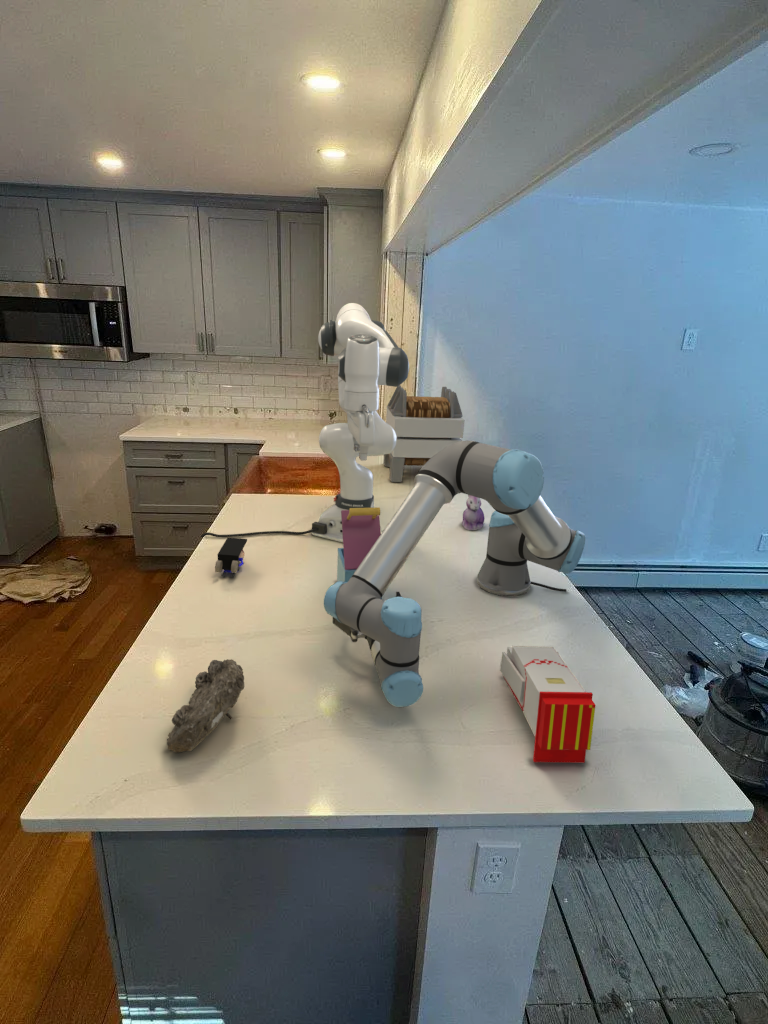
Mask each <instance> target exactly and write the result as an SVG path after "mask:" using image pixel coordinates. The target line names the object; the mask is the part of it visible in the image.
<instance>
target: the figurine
mask: <svg viewBox="0 0 768 1024" xmlns="http://www.w3.org/2000/svg"><path fill="white" fill-rule="evenodd" d="M481 500H482V499H481V498H478V497H474V496H471V495H468V494H467V499H466V502H465V504H466V509H465V510H463V513H462V521H461V526H462V527H463V528H464V529H465V530H469V531H476V530H480V529H482V528H483V527H484V524H485V513H484V511H483V509H482V501H481Z"/></svg>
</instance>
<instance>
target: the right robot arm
mask: <svg viewBox="0 0 768 1024" xmlns="http://www.w3.org/2000/svg"><path fill="white" fill-rule="evenodd" d="M544 472H545V471H544V467H543V465H542V462H541V460H540V459H539V458H538V456H535V455H534V454H532V453H529V452H527V451H524V450H521V449H511V448H506V447H501V446H498V445H492V444H488V443H483V442H479V441H475V440H462V441H460V442H457V443H454V444H451V445H449V446H447V447H445V448H444V449H442V450H441V451H439V452H438V453H436V454H435V455H434V456H433V457H432V458H431V459H429V460H428V461H427V462H426V463H425V464H424V465H423V466H421V468H420V469H419V470H418V472H417V473H416V475H415V476H414V479H413V482H414V486H413V487H412V489H411V490H410V492H409V493H408V494H407V496H406V498H404V500H403V502H402V503H401V504H400V505H399V507H398V509H397V510H396V512H395V513H394V515H393V516H392V518H391V519H390V520H389V522H388V523H387V525H386V526H385V527H384V529H383V531H381V535H380V536H379V538H378V539H377V541H376V542H375V544H374V545H373V547H372V548H371V549H370V551H369V552H368V554H367V555H366V557H365V558H364V560H363V561H362V562H361V564H360V565H359V567H358V568H357V570H356V571H355V573H354V574H353V575H352V577H351V578H350V579H349V581H348V582H343V581H338V582H337V581H335V582H334V583H333V584H332V585H330V586H329V587H328V588H327V590H326V592H325V594H324V597H323V608H324V611H325V612H326V614H328V615H329V616H330V617H331V618H332V624H333V625H334V626H336V627H337V628H338V629H340V630H341V631H342V632H343V633H344V634H346V635H347V636H348V637H350V640H351V642H353V643H357V642H358V640H359V639H365V640H366V641H367V644H368V646H369V648H368V649H369V651H370V654H371V657H372V660H373V663H374V664H373V665H374V666H375V669H376V672H377V677H378V680H379V683H380V688H381V689H380V690H381V691H382V692H383V695H384V697H385V699H386V701H387V702H388V703H389V704H390V705H392V706H393V707H396V708H405V707H406V708H407V707H410V706H413V705H414V704H415V703H417V702H419V700H420V698H421V697H422V696H423V693H424V683H423V678H422V676H421V675H420V671H419V670H420V669H419V668H420V649H421V638H422V636H421V635H422V631H423V630H422V629H423V623H422V607H421V605H420V604H419V603H418V601H416V600H415V599H413V598H410V597H403V596H402V595H401V593H400V591H396V592H395V596H393V597H389V598H387V599H386V600H383V596H384V594H385V593H386V591H388V588H389V587H390V586H391V584H392V582H393V581H394V579H395V578H396V577H397V575H398V574H399V572H400V570H401V569H402V567H403V566H404V564H405V563H406V562H407V560H408V558H409V557H410V556H411V554H412V552H413V551H414V549H415V548H416V546H417V545H418V544H419V542H420V541H421V539H422V537H423V536H424V535H425V533H426V532H427V530H428V528H429V527H430V525H431V524H432V522H433V521H434V519H435V518H436V517H437V515H438V514H439V512H440V510H441V509H442V507H443V506H444V505H447V504H450V503H451V502H452V501H453V500H454V498H455V496H456V495H458V494H464V495H467V496H468V495H471V496H474V497H478V498H480V500H484V501H486V502H487V503H488V504H489V506H490V507H491V508H492V509H493V510H494V511H493V512H492V513H491V516H490V520H489V524H488V535H487V545H486V555H485V556H486V557H485V559H484V561H483V562H482V565H481V568H480V569H479V571H478V572H477V578H476V583H477V586H478V587H480V589H482V590H483V591H485V592H487V593H490V594H493V595H496V596H500V597H519V596H523V595H526V594H527V593H529V592H530V590H531V585H533V586H536V587H541V588H544V589H547V590H551V591H555V592H562V593H566V592H567V588H558V587H553V586H549V585H546V584H543V583H538V582H535V581H532V580H531V577H530V576H531V575H530V572H529V567H528V562H531V563H533V564H536V565H540V566H542V567H545V568H548V569H551V570H554V571H557V572H558V573H564V574H571V573H572V572H573V571H575V569H576V568H577V566H578V564H579V562H580V560H581V558H582V555H583V552H584V550H585V545H586V535H585V533H584V532H582V531H579V529H576V530H575V529H572V528H570V527H569V525H568V524H567V522H566V521H564V520H563V519H562V518H560V517H558V516H556V515H554V514H553V512H552V511H551V509H550V507H549V506H548V504H546V501H544V498H543V497H542V492H543V489H544V484H545V477H544V476H543V475H544ZM381 598H382V600H381Z"/></svg>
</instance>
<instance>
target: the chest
mask: <svg viewBox="0 0 768 1024" xmlns="http://www.w3.org/2000/svg"><path fill="white" fill-rule="evenodd" d="M336 556H337V559H336V560H337V561H336V563H337V564H336V567H337V568H336V569H337V570H336V582H338V581H343V582H348V581H349V579H350V578H351V577H352V575H353V574H354V573H355V571H356V570H357V569H352V570H345V566H344V550H343V547H337V555H336ZM381 600H383V597H382V598H381Z"/></svg>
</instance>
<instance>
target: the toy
mask: <svg viewBox="0 0 768 1024" xmlns="http://www.w3.org/2000/svg"><path fill="white" fill-rule="evenodd" d="M506 650H507V651H502V652H501V659H500V666H499V671H500V673H501V675H502V677H503V679H504V681H505V683H506V684H507V687H508V688H509V690H510V692H511V693H512V696H513V697H514V699H515V700H516V703H517V704H518V706H519V708H520V709H521V711H522V712H523V716H524V717H525V719H526V722H527V723H528V726H529V728H530V730H531V731H532V734H533V736H534V744H533V745H534V746H533V757H532V762H533V763H568V764H569V763H575V764H576V763H577V764H578V763H579V764H582V763H583V764H585V762H586V754H587V751H591V747H592V746H591V745H592V738H593V729H594V722H595V713H596V707H597V706H596V703H595V702H594V700H593V696H594V695H593V692H590V691H589V692H587V691H586V690H585V688H584V687H583V686H582V684H581V683H580V681H579V680H578V679H577V677H576V676H575V675H574V673H573V672H572V671H571V669H570V668H569V667H568V665H567V664H566V662H565V661H564V659H563V658H562V656H561V655H560V653H559V651H557V649H556V648H555V647H554V646H545V645H544V646H543V645H542V646H540V645H535V646H534V645H512V646H507V649H506Z"/></svg>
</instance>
